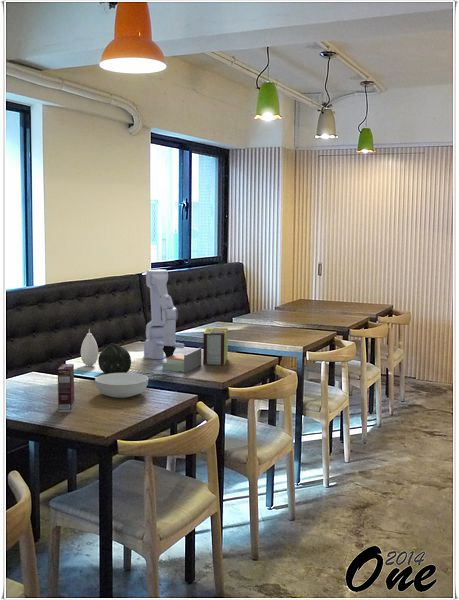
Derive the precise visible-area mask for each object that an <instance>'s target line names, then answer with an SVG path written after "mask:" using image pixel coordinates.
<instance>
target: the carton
mask: <svg viewBox="0 0 459 600" xmlns="http://www.w3.org/2000/svg"><path fill="white" fill-rule="evenodd" d="M185 354H186V353H179V352H178V353H175V354H174V353H173V355H172V356H170V357H168V358H166V357H165V359H166V363H169V364H179V365H184V355H185Z"/></svg>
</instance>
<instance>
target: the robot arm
mask: <svg viewBox="0 0 459 600" xmlns="http://www.w3.org/2000/svg"><path fill="white" fill-rule="evenodd" d="M168 280H169V273H168V271H167V269H147V271H146V273H145V283H146V287H147V288H149V293H150V295H149V296H150V297H149V298H150V313H151V314H150V315H151V320H150V321H149V322H148V323H147V324H146V325H145V337H146V339H145V340H144V345H143V357H142V358H144V359H151V360H152V359H153V360H162V359H164V358H165V359H166V358H168V357H170V356H172V355H174V353H175V351H176V349H184V348H185V343H181V342H176V334H177V333H176V330H177V329H176V325H177V324H176V323H177V320H178V319H179V313H178V309H177V307H176V306H174V302H173V299H172V296H171V295H169V292H168V288H167V284H168Z"/></svg>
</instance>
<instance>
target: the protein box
mask: <svg viewBox="0 0 459 600" xmlns="http://www.w3.org/2000/svg"><path fill="white" fill-rule="evenodd" d="M228 334H229V328H225V327H223V328H222V327H220V328H219V327H206V329H205V331H204V332H203V335H202V337H203V347H202V351H203V352H202V353H203V355H202V357H203V358H202V363H203V365H205V366H206V365H209V366H225V364H226V363H227V360H228V351H229V350H228V349H229V348H228V344H229V343H228V342H229V335H228Z"/></svg>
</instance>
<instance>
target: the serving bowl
mask: <svg viewBox="0 0 459 600" xmlns="http://www.w3.org/2000/svg"><path fill="white" fill-rule="evenodd" d="M94 381H95V386H96V389H97V390H98V392H100V393H101V394H103V395H104V396H108V397H112V398H114V399H115V398H116V399H126V398H131V397H134V396H137V395H139V394H141V393H143V392H144V391H145V390H146V388H147V386H148V384H149V377H148V376H147V375H145V374H141V373H135V372H134V373H133V372H127V373H111V374H100V375H98V376H97V377H95V378H94Z"/></svg>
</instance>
